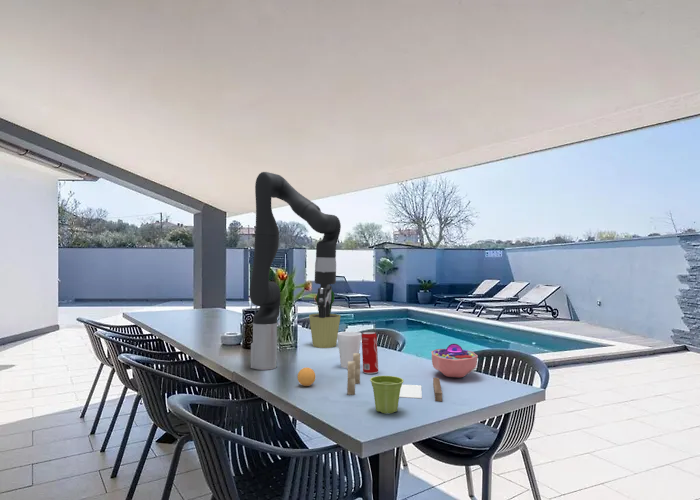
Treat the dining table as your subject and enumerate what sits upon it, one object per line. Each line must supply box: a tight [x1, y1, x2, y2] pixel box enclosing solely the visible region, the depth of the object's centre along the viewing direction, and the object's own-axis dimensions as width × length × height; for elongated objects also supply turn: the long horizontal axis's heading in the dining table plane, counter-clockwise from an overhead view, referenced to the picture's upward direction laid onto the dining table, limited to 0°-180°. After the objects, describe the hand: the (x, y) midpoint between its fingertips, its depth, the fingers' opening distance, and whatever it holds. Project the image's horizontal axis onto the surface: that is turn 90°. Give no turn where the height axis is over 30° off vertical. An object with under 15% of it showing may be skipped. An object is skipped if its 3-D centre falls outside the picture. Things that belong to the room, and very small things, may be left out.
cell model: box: [430, 343, 479, 379], centre depth 169 cm, size 17×20×11 cm
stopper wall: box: [432, 377, 443, 402], centre depth 147 cm, size 2×18×2 cm, turn 172°
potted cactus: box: [308, 287, 341, 349], centre depth 224 cm, size 15×15×30 cm
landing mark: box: [399, 383, 423, 399], centre depth 149 cm, size 14×14×1 cm
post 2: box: [353, 352, 361, 385], centre depth 158 cm, size 2×2×10 cm
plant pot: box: [369, 375, 404, 414], centre depth 130 cm, size 9×9×9 cm
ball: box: [297, 367, 317, 387], centre depth 154 cm, size 6×6×6 cm
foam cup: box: [337, 331, 362, 369], centre depth 182 cm, size 10×9×13 cm
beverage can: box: [361, 331, 379, 375], centre depth 173 cm, size 6×6×15 cm
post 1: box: [346, 361, 356, 396], centre depth 145 cm, size 2×2×10 cm
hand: (324, 316), depth 163 cm, fingers open, 8 cm apart
